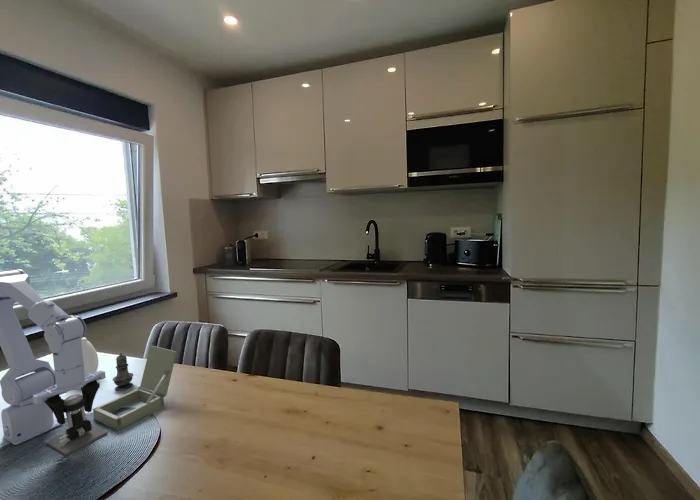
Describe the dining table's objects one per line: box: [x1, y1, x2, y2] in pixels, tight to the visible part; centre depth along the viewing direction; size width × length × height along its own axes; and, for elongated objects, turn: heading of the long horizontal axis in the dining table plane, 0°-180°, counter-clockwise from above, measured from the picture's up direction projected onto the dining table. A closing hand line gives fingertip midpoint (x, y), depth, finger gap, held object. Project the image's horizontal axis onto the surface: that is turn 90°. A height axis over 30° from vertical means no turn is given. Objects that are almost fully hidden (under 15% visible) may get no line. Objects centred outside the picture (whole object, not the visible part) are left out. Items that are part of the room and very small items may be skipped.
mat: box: [45, 423, 108, 456], centre depth 86 cm, size 9×10×1 cm
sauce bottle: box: [81, 336, 99, 375], centre depth 118 cm, size 8×8×18 cm
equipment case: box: [92, 345, 177, 431], centre depth 99 cm, size 18×12×15 cm, turn 152°
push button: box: [59, 393, 92, 443], centre depth 85 cm, size 7×5×10 cm
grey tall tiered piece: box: [112, 352, 134, 392], centre depth 112 cm, size 6×6×12 cm
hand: (75, 416), depth 85 cm, fingers closed on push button, 5 cm apart
